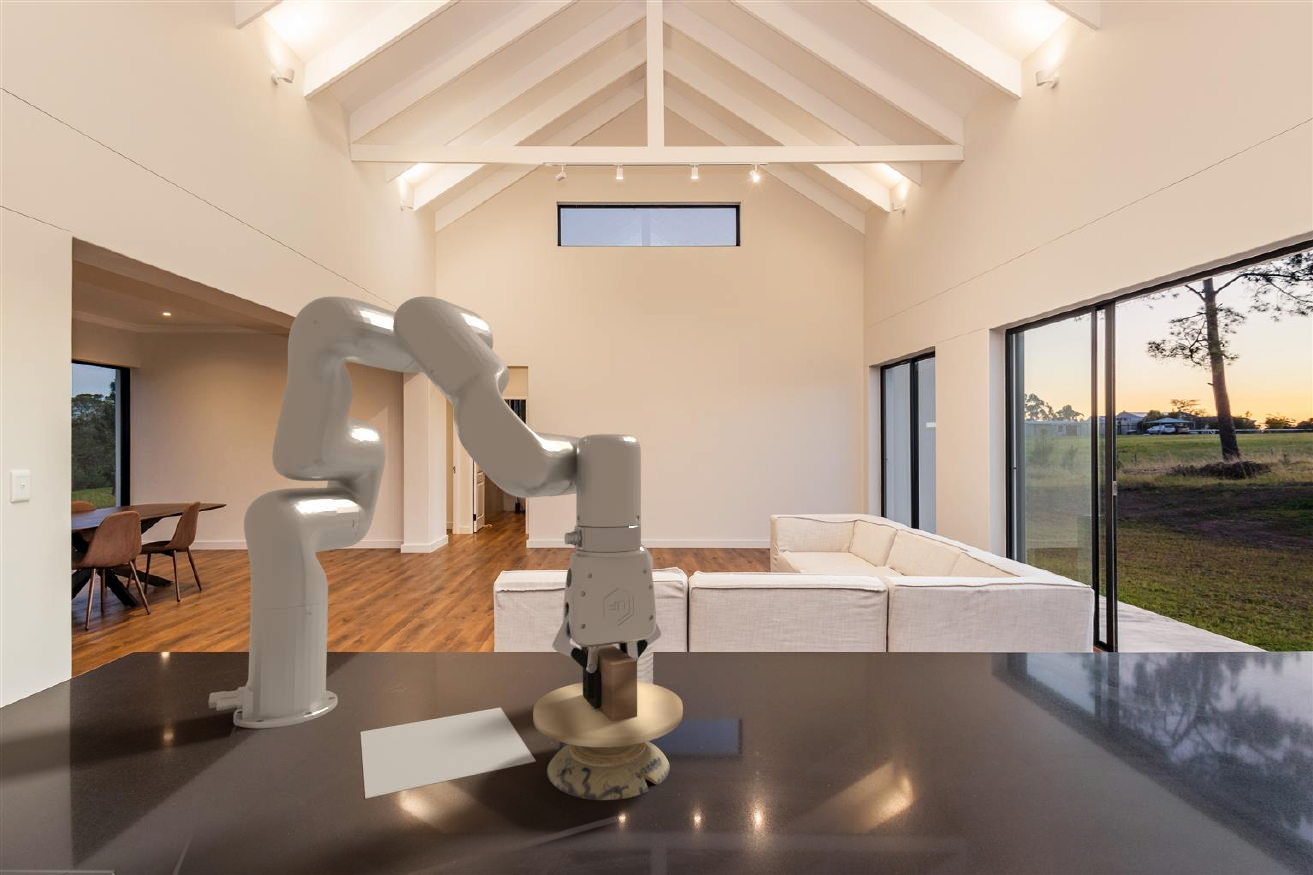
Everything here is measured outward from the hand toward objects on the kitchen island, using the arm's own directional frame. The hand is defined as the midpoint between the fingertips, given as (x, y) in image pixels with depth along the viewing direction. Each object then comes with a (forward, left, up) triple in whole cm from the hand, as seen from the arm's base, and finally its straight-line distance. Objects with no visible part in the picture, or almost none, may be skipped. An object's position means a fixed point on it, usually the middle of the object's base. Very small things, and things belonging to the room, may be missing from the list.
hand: (608, 699), depth 71 cm
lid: (0, 0, -2) cm, 2 cm away
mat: (-16, +14, -8) cm, 23 cm away
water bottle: (+12, +20, -8) cm, 25 cm away
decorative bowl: (0, 0, -9) cm, 9 cm away
